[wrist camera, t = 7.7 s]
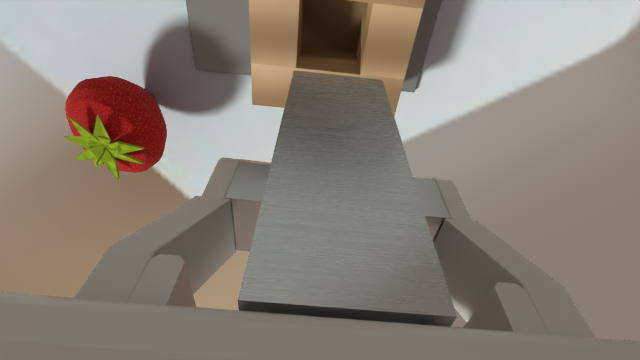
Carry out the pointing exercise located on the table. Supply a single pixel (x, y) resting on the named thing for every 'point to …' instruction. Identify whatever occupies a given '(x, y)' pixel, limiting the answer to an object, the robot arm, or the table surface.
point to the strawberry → (116, 124)
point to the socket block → (330, 42)
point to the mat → (234, 37)
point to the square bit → (343, 214)
